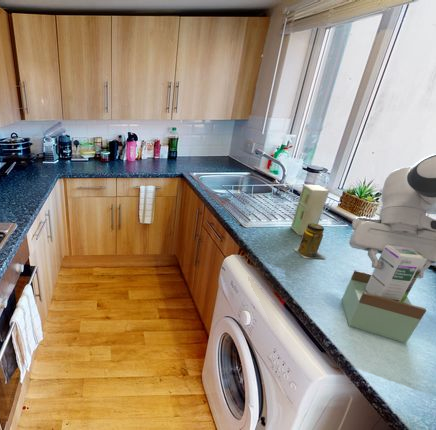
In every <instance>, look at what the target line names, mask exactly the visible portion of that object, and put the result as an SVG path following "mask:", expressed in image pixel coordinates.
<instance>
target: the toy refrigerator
mask: <svg viewBox="0 0 436 430" xmlns="http://www.w3.org/2000/svg"><path fill="white" fill-rule="evenodd" d="M329 193H330V190H329V189H327V188H325V187H323V186H321V185H319V184H303V185H302V188H301V192H300V195H299V197H298V198H299V199H298V202H297V205H296V209H295V212H294V216H293V218H292V222H291V226H290V228H291V229H292V230H293V231H294V233H296V234H297V235H298V236H303V234H304V231H305V230H306V228H307V226H308V224H311V223H313V224H318V225H319V222H320V219H321V217H322V213H323V210H324V207H325V205H326V202H327V200H328V196H329Z"/></svg>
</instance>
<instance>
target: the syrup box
mask: <svg viewBox="0 0 436 430" xmlns="http://www.w3.org/2000/svg"><path fill="white" fill-rule="evenodd" d="M379 255H380V256H379V258H378V261H382V264H381V265H382V267H381V268H380V269H376V268H373V271H372V273H371V274H372V275H371V277H370V280H369V282H368V284H367V286H366V288H365V289H366V290H367V291H368V293H369V294H373V295H377V296H380V297H384V298H388V299H392V300H395V301H399V302H403V303H404V301H405V299H406V297H408V295H409V294H410V292H411V290H412V288H413V286H414V284H415V282H416V281H417V279H418V278H417V277H418V275H419V273H420V272H421V270H422V268H423V266H424V264H425V262H426V260H427V258H426V257H425V256H423V255H422V254H421V253H419V252H418V251H416V250H414V249H412V248H406V247H399V246H389V245H385V247H384V250H383V251H382V253H381V254H379Z"/></svg>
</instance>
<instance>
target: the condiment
mask: <svg viewBox="0 0 436 430" xmlns="http://www.w3.org/2000/svg"><path fill="white" fill-rule="evenodd" d="M324 232H325V227H324V226H323V225H321V224H319V223H318V224H313V223H311V224H308V226H307V228H306V230H305V231H304V234H303V235H302V237H301V239H300V240H301V241H300V243H299V246H298V247H297V248H294V247H293V250H295V252H296V253H298V255H300V256H301V257H302V258H304V259H326V257H325V256H324V255H323V254H321V253H320V252H319V249H320V246H321V243H322V241H323V238H324V234H323V233H324Z"/></svg>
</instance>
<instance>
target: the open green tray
mask: <svg viewBox="0 0 436 430" xmlns="http://www.w3.org/2000/svg"><path fill="white" fill-rule="evenodd" d="M351 275H352V276H351V277H350V279H349V282H348V284H347V286H346V289H345V290H344V293H343V296H342V298H341V302H342V306H343V310H344V314H345V318H346V321H347V325H348V326H349V327H352V328H354V329H355V328H356V329H358V330H362V331H364V332H365V331H366V332H369V333H372V334H374V335H378V336H381V337H384V338H388V339H391V340H394V341H396V342H401V343H404V344H407V342H408V341H409V340H410V338H411V336H412V335H413V333H414V332H415V330H416V328H417V327H418V325H419V324H420V322H421V320H422V318H423V317H424V315H426V312H427V309H426V308H425V307H421V306H418V305H414V304H412V303H411V301H410V299H409V297H408V296H407V297H406V299H405V301H404V303H403V302H399V301H395V300H392V299H388V298H384V297H380V296H377V295H373V294H369V293H368V291H367V290H366V289H365V288H366V286H367V284H368V282H369V280H370V277H371V275H372V273H369V272H366V271H361V270H357V269H354V270H353V273H352V274H351Z"/></svg>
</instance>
